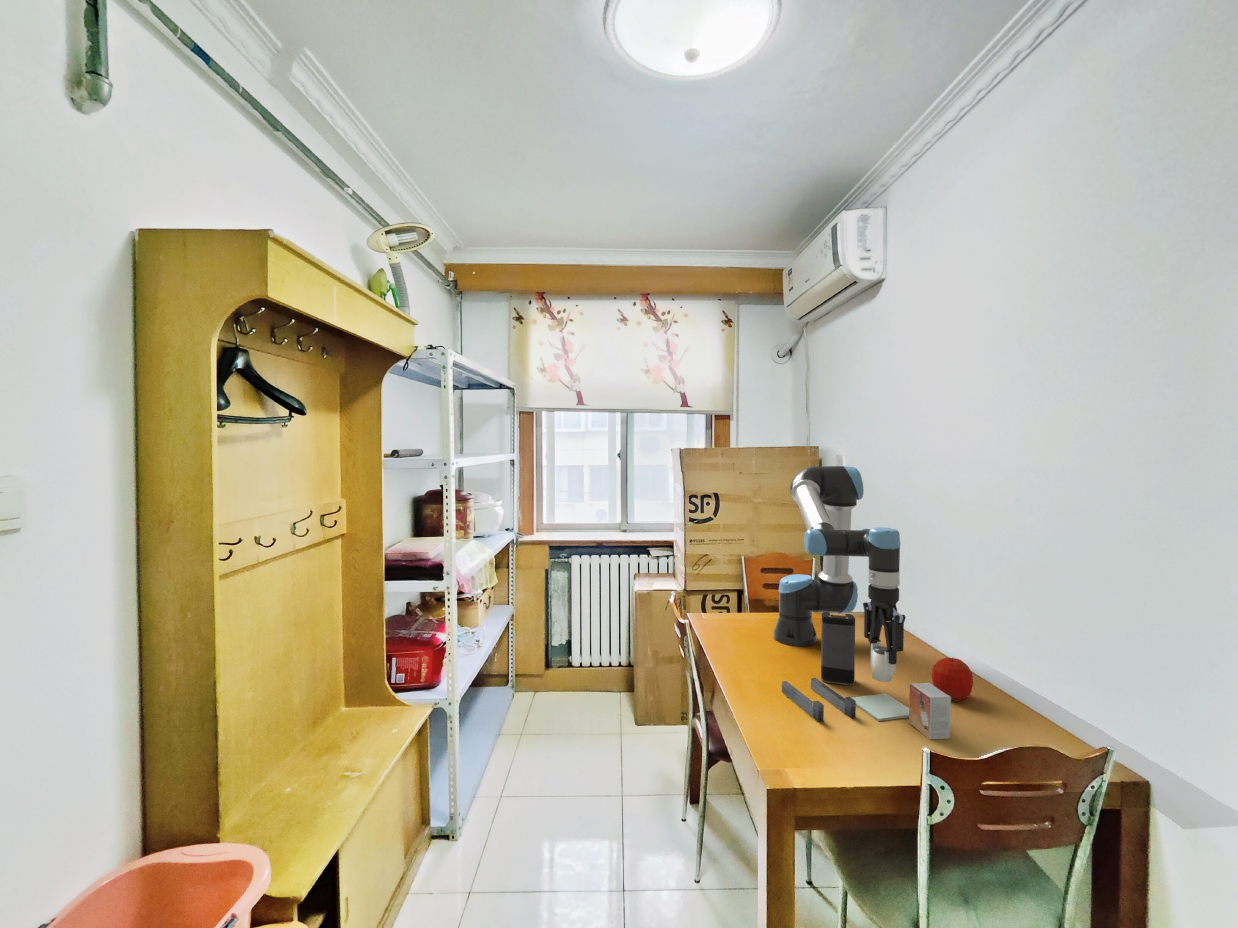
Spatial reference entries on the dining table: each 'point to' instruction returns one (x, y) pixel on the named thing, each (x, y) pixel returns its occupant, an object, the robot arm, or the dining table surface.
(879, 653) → the white cylindrical piece
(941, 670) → the apple
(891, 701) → the pad
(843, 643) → the electronic device
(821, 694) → the channel
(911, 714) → the small box
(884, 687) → the dining table surface
